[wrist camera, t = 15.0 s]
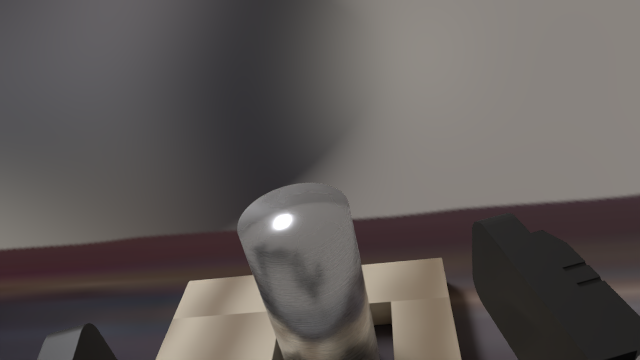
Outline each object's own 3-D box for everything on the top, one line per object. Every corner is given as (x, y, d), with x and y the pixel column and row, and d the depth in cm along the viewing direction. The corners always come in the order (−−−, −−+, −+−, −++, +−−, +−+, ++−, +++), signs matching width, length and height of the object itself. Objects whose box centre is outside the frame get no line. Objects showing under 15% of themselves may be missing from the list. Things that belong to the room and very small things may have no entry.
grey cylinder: (394, 405, 26) (360, 233, 20) (301, 431, 26) (238, 266, 20) (369, 328, 31) (336, 170, 25) (290, 349, 31) (236, 195, 24)
